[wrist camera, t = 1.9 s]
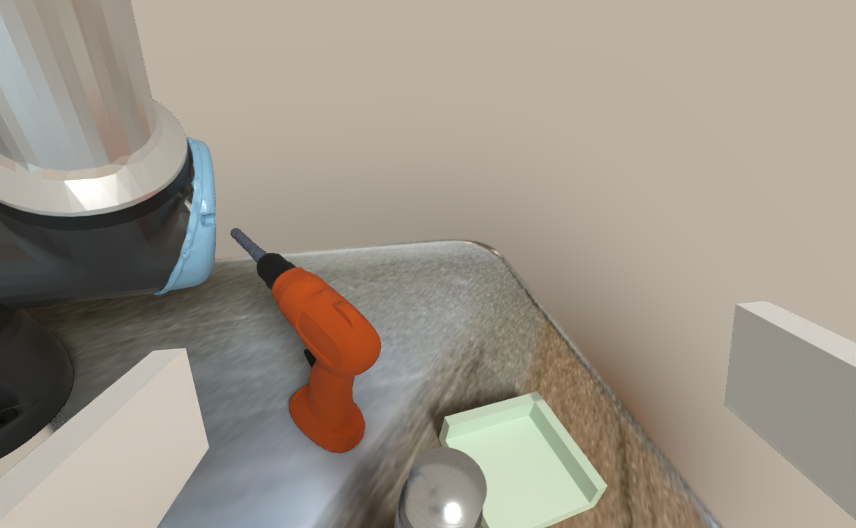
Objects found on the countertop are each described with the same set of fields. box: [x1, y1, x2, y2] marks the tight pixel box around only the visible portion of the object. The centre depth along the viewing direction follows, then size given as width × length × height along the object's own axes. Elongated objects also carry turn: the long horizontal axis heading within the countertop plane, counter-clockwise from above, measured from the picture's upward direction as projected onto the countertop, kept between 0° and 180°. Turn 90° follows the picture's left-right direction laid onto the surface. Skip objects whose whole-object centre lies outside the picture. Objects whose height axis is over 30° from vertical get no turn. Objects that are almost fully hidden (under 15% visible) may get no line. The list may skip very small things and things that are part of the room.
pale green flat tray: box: [439, 392, 607, 528], centre depth 40 cm, size 10×10×3 cm
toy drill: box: [231, 228, 381, 453], centre depth 40 cm, size 5×19×15 cm, turn 49°
